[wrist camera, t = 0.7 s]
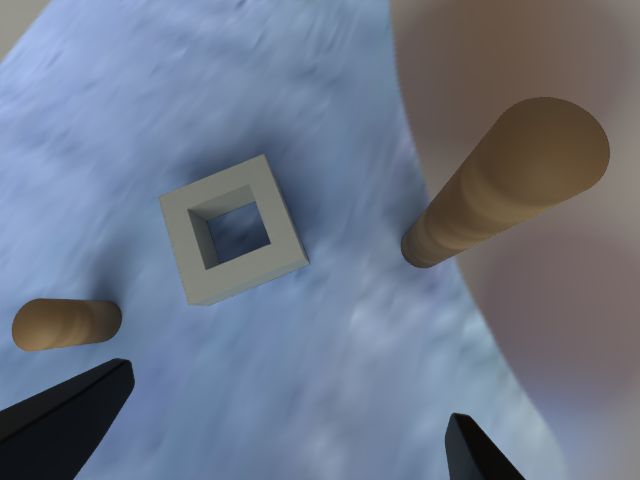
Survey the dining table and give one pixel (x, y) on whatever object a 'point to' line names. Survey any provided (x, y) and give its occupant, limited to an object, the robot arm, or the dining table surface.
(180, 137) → the dining table surface
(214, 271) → the hole block
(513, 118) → the long dowel
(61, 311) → the short dowel
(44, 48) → the dining table surface
